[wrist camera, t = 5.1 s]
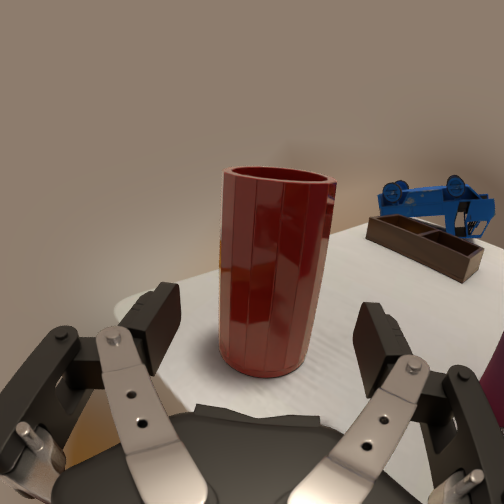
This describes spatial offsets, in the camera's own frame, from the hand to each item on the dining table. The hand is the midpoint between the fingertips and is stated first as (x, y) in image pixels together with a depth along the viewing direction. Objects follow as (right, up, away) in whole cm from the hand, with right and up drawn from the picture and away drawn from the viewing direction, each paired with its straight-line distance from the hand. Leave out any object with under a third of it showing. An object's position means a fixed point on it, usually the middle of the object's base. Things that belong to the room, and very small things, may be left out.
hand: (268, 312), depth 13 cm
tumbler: (0, -4, +8) cm, 9 cm away
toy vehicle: (+37, +18, +39) cm, 57 cm away
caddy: (+26, +2, +28) cm, 38 cm away
